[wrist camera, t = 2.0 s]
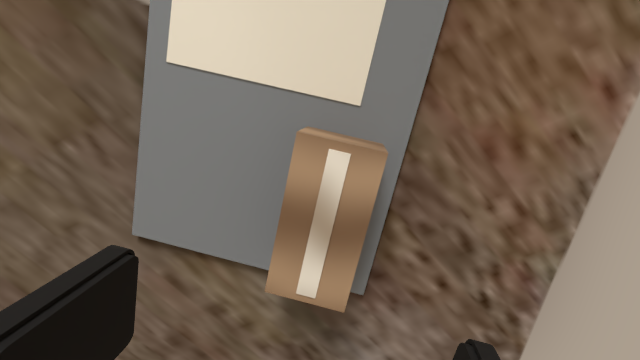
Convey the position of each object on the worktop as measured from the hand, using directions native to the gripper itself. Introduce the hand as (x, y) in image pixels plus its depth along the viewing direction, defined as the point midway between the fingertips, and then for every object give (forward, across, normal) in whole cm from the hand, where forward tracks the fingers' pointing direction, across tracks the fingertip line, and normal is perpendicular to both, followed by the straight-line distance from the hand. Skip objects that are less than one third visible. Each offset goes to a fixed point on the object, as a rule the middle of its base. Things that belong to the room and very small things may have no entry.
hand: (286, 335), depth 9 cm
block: (+14, 0, +1) cm, 14 cm away
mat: (+14, +5, -5) cm, 16 cm away
